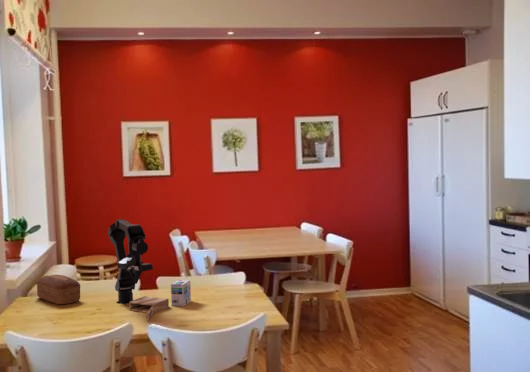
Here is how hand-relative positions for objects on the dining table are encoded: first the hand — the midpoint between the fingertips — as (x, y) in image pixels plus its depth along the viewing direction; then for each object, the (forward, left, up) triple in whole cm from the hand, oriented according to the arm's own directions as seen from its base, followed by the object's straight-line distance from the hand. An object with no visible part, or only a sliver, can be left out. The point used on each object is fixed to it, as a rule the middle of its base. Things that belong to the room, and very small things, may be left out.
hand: (135, 283), depth 289 cm
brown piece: (+6, +2, -12) cm, 14 cm away
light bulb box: (+15, +16, -12) cm, 25 cm away
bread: (-49, -1, -12) cm, 51 cm away
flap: (+16, -11, -12) cm, 23 cm away
